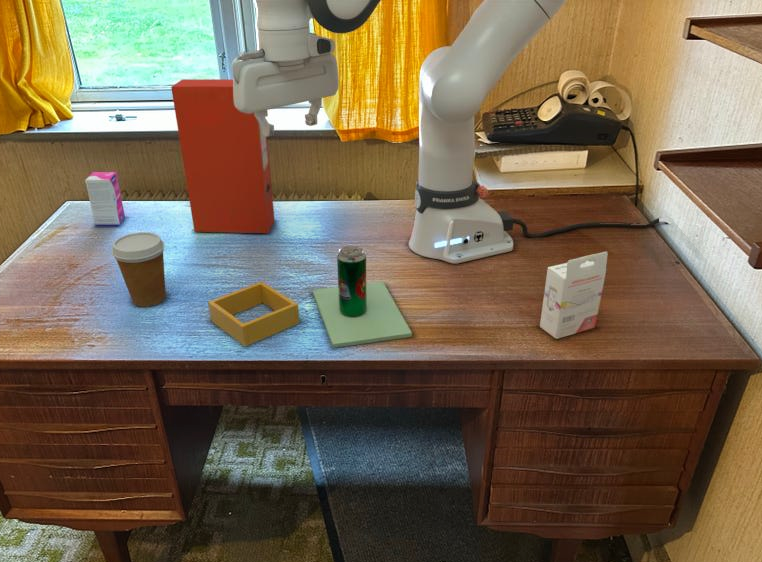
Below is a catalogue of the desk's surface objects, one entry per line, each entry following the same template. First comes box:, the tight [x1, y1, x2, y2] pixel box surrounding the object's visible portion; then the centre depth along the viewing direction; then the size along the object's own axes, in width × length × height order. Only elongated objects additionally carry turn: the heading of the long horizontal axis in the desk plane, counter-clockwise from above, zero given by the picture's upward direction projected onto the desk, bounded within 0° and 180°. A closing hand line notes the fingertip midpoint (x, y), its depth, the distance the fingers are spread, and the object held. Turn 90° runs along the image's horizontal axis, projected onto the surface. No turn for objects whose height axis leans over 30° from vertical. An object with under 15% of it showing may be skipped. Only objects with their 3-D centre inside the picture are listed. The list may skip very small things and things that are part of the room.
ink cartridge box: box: [539, 251, 609, 340], centre depth 114 cm, size 9×5×15 cm, turn 114°
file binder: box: [170, 78, 275, 234], centre depth 150 cm, size 8×17×32 cm, turn 84°
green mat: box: [312, 280, 413, 349], centre depth 124 cm, size 14×20×1 cm
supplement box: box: [84, 171, 126, 228], centre depth 160 cm, size 6×6×12 cm
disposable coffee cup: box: [110, 231, 167, 308], centre depth 127 cm, size 10×10×12 cm
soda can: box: [336, 245, 368, 317], centre depth 120 cm, size 5×5×12 cm
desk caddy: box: [207, 281, 301, 348], centre depth 121 cm, size 12×12×4 cm
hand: (290, 129), depth 121 cm, fingers open, 8 cm apart
